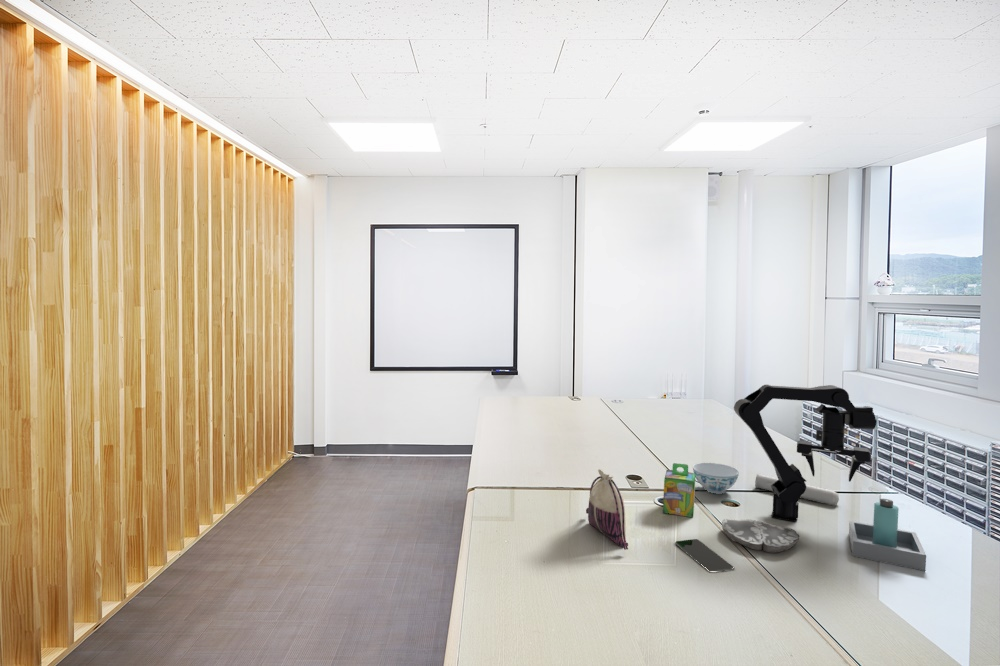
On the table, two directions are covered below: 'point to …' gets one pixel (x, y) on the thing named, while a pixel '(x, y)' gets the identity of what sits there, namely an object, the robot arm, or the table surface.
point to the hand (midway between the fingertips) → (831, 478)
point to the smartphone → (704, 555)
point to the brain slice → (760, 535)
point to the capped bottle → (885, 523)
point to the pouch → (607, 509)
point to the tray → (887, 547)
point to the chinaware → (715, 476)
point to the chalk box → (679, 491)
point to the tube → (809, 493)
